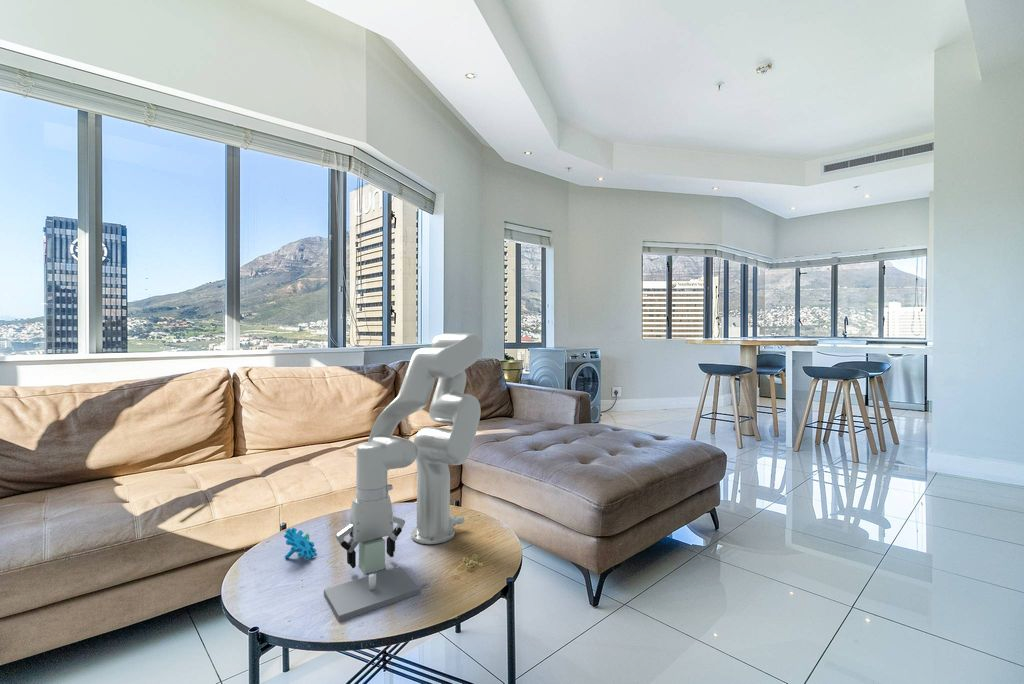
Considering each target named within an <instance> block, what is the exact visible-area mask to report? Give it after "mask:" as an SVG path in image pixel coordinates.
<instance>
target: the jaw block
mask: <svg viewBox="0 0 1024 684" xmlns="http://www.w3.org/2000/svg"><path fill="white" fill-rule="evenodd" d="M358 567H359V568H360V570H361V569H362V570H361V571H362V572H363V574H364V573H365V574H364V575H368V574H371V573H374V572H373V571H375V572H377V571H376V570H378V571H380V570H379V569H381V570H384V569H383V568H385V569H386V540H385V539H384V537H381V538H377V539H373V540H369V541H365V542H360V543H358ZM370 572H371V573H370ZM367 573H368V574H367Z"/></svg>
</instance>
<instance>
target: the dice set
mask: <svg viewBox="0 0 1024 684" xmlns="http://www.w3.org/2000/svg"><path fill="white" fill-rule="evenodd" d="M463 564H464V566H465V571H466V570H467V571H466V572H471V571H472V568H474V567H475V565H474V564H478V565H479V566H478V567H483V564H484V563H483V562H479V561H478V554H477V553H474V554H471V560H469V557H467V556H466V557H463V558H462V565H463ZM473 566H474V567H473ZM471 567H472V568H471ZM470 570H471V571H470Z"/></svg>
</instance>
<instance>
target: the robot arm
mask: <svg viewBox="0 0 1024 684" xmlns="http://www.w3.org/2000/svg"><path fill="white" fill-rule="evenodd" d="M483 351H484V343H483V341H482V339H481V338H480V337H479V336H478V335H477V334H475V333H470V332H469V333H465V332H463V333H456V332H455V333H454V332H452V333H451V332H449V333H447V332H445V333H440V334H438V335H435V336H434V338H433V339H432V342H431V346H430V347H429V346H428V347H420V348H418V349H416V350H414V352H413V354H412V356H411V357H410V361H409V363H408V366H407V369H406V371H405V375H404V377H403V380H402V382H401V383H402V384H401V385H400V389H399V392H398V394H397V396H395V398H394V399H393V400H392V401H391V402H390V403H389V404H387V406H386V407H385V408H384V409H383V410H382V412H380V414H378V416H377V418H376V419H375V421H374V424H373V426H372V427H371V431H370V433H369V437H368V440H367V442H364V443H362V444H359V446H357V447H356V452H355V453H356V456H355V457H356V458H355V459H356V460H355V462H356V464H355V467H356V468H355V469H356V471H355V472H356V473H355V474H356V478H355V480H356V481H355V484H356V485H355V488H356V489H355V490H356V491H355V494H356V495H355V498H353V499H352V502H351V507H350V514H349V521H348V523H349V524H348V525H347V526H346V527H345V528H343V529H342V530H340V531H339V532H337V534H336V535H335V538H336V540H337V542H338V543H339V545H340V547H342V548H343V549H344V550H346V562H347V564H348V565H349V567H351V569H355V568H356V566H357V565H356V564H357V562H356V561H357V559H356V558H357V557H356V555H357V552H356V550H355V549H356V547H357V546H359V543H360V542H365V541H369V540H373V539H377V538H381V537H382V538H384V537H387V538H386V554H387V555H388V556H389V557H390V558H394V557H395V552H396V541H397V540H398V537H399V536H400V534H401V532H402V531H403V528H404V526H405V523H406V520H405V519H403V518H402V517H401V518H400V517H398V516H395V515H393V508H392V506H393V505H392V502H391V496H390V495H389V491H392V490H393V488H394V487H393V484H388V471H389V470H395V469H404V468H408V467H410V466H411V465H412V464H413V463H414V462H415V463H416V464H415V465H416V527H415V528H413V529H412V530H411V533H410V535H411V536H410V537H411V539H412V540H413V541H414V542H416V543H419V544H422V545H424V544H425V545H437V544H442V543H446V542H449V541H451V539H453V538H454V537H455V535H456V529H455V528H454V527H456V525H461V524H462V525H463V524H464V523H465V521H466V520H465V517H464V516H459V517H457V516H456V515H452V516H451V506H450V505H451V474H450V472H451V471H450V469H449V465H452V466H460V465H463V464H464V463H466V461H467V460H468V459H469V457H470V454H471V452H472V449H473V445H474V441H475V438H476V434H477V431H478V427H479V424H480V419H481V415H482V414H481V411H482V410H481V404H480V402H479V399H478V398H477V397H476V396H474V395H473V394H469V393H465V389H466V385H467V373H466V369H468V368H469V367H471V366H472V365H473V364H475V363H476V362H478V360H480V358H481V357H482V354H483V353H484V352H483ZM436 380H437V384H436ZM435 384H436V386H435ZM434 386H435V390H434ZM433 390H434V393H433ZM432 393H433V396H432V399H431V402H430V398H431V395H432ZM429 402H430V405H429V412H428V413H429V417H430V419H431V420H432V421H433V422H435V423H438V424H442V425H446V426H447V425H449V426H452V429H451V428H450V429H449V428H444V427H439V426H426V427H423V428H421V429H419V430H418V432H417V433H416V434H415V436H414V438H413V441H412V440H410V439H407V438H403V437H399V436H394V435H393V434H394V431H395V430H396V428H397V426H398V425H399V424H400V423H401V422H402V421H403V420H404V419H405V418H407V417H408V416H411V415H413V414H415V413H416V412H419V411H421V410H423V409H425V408H426V407H427V406H428V404H429ZM394 523H395V524H397V525H396V526H395V528H394ZM347 536H349V537H350V538H349V540H348V541H346V540H345V537H347Z"/></svg>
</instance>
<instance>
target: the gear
mask: <svg viewBox="0 0 1024 684" xmlns="http://www.w3.org/2000/svg"><path fill="white" fill-rule="evenodd" d="M303 535H304V532H303V531H302V530H300V529H299V530H297V528H295V527H292V528H287V529H286V530H285V534H283V537H284V538H285V539H286V540H285V543H286V545H287V546H291V547H290V550H289V552H288V553H287V554H286V555H285V556H284V558H285V559H286V558H288V559H289V558H291V556H292V555H294V554H295V553H296V552H298V553H297V555H296V556H298V557H299V558H300V559H301V558H303V556H304V559H305V560H306V561H309V560H310V559H313V558H312V557H314V556H316V554H315V553H316V552H317V549H316V548H315V543H314V542H313V541H310V539H311V538H310V533H305V535H304V536H303ZM314 558H315V557H314Z"/></svg>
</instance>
